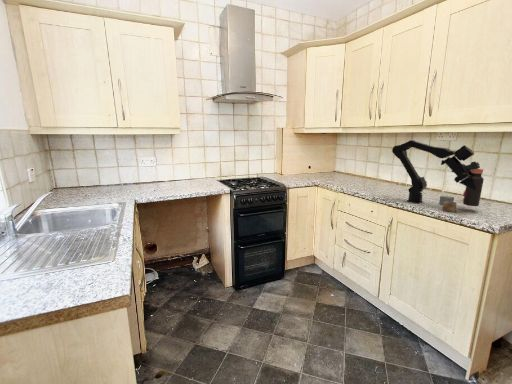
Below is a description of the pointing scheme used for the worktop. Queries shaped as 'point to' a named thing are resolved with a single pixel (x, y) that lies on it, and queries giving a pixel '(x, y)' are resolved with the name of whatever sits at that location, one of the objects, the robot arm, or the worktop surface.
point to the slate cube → (445, 199)
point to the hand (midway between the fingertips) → (477, 188)
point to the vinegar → (470, 194)
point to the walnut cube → (449, 206)
